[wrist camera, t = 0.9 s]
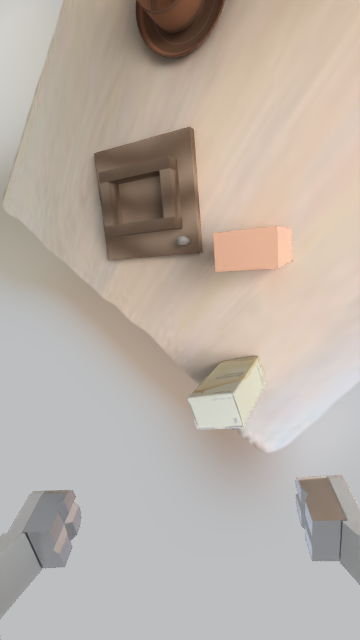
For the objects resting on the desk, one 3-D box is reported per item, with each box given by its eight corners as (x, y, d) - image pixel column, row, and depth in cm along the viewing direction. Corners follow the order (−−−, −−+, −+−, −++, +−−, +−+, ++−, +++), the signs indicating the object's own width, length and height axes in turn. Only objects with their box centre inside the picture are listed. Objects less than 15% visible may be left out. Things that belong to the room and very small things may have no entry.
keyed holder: (99, 155, 49) (82, 149, 46) (193, 129, 42) (181, 120, 39) (113, 259, 53) (98, 261, 49) (202, 252, 45) (192, 253, 42)
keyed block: (241, 233, 42) (213, 233, 33) (292, 228, 40) (277, 225, 30) (242, 263, 43) (215, 271, 34) (292, 260, 40) (278, 268, 31)
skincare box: (258, 354, 45) (234, 391, 35) (267, 383, 46) (246, 428, 35) (219, 361, 48) (185, 397, 38) (227, 388, 49) (196, 430, 38)
